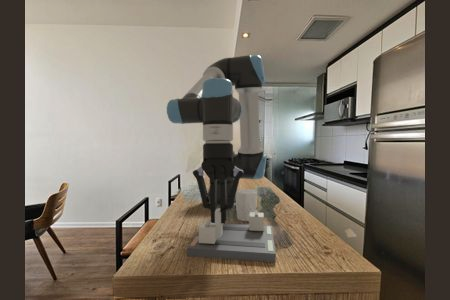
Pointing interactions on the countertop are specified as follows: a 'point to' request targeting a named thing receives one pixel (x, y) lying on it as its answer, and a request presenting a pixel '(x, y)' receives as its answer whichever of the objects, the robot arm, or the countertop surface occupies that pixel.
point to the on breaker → (256, 221)
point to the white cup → (245, 203)
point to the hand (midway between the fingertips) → (218, 235)
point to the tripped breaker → (207, 232)
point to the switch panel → (237, 244)
